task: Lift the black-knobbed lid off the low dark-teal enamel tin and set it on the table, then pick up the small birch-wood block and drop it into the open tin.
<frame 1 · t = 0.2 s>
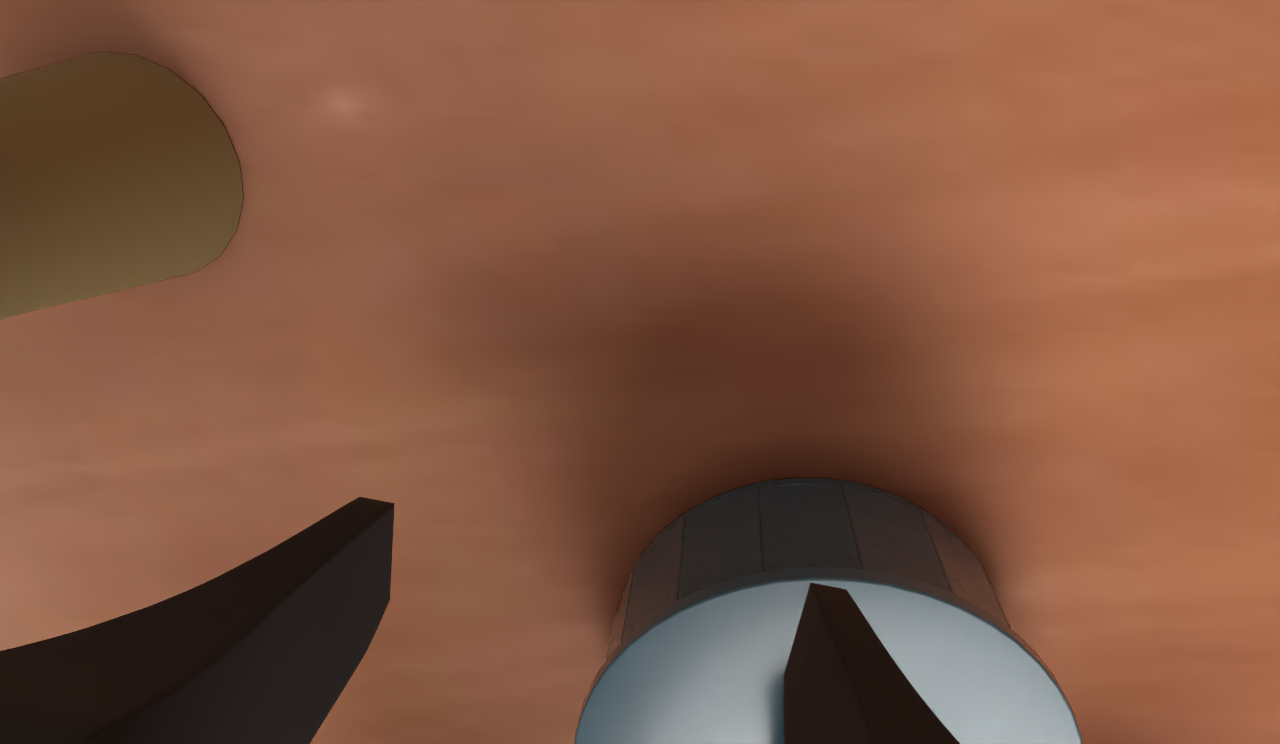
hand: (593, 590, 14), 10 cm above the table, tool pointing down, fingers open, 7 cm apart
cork: (139, 169, 23), on the table
tin: (803, 640, 27), on the table
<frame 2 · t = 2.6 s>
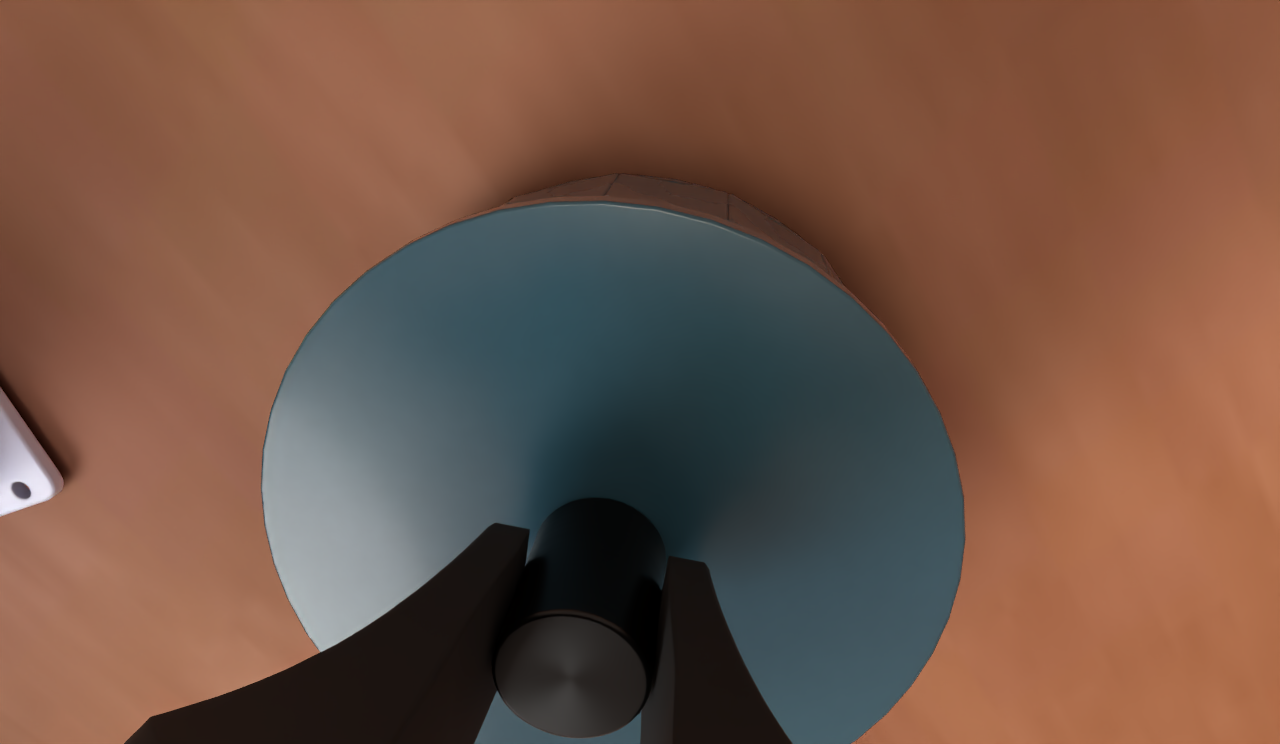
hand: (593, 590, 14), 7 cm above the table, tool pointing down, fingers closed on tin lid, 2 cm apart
tin lid: (604, 537, 16), point 5 cm above the table, touching gripper, tin
tin: (633, 421, 20), on the table
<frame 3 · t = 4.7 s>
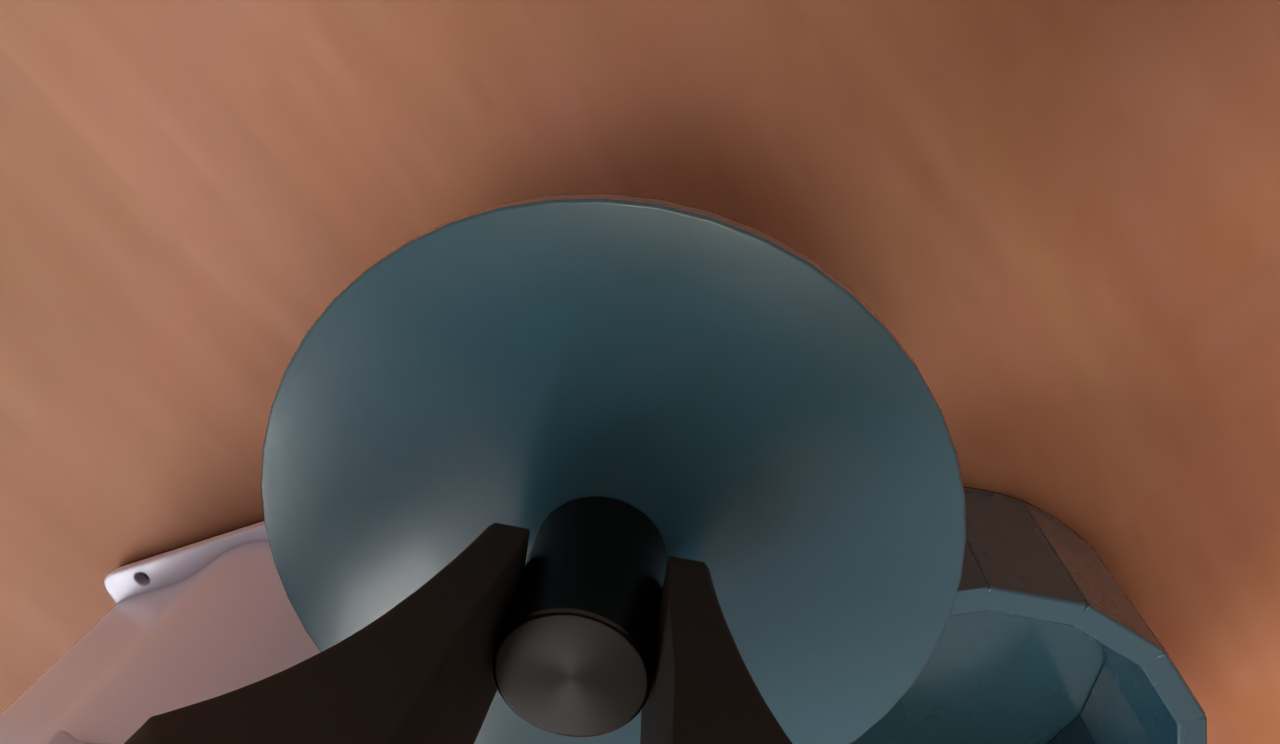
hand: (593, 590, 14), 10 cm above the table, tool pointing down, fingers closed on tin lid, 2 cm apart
tin lid: (604, 536, 16), point 9 cm above the table, touching gripper
tin: (921, 648, 27), on the table
when the fingers open (2 cm above the table, at t = 7.0 s): tin lid stays where it is, point 1 cm above the table.
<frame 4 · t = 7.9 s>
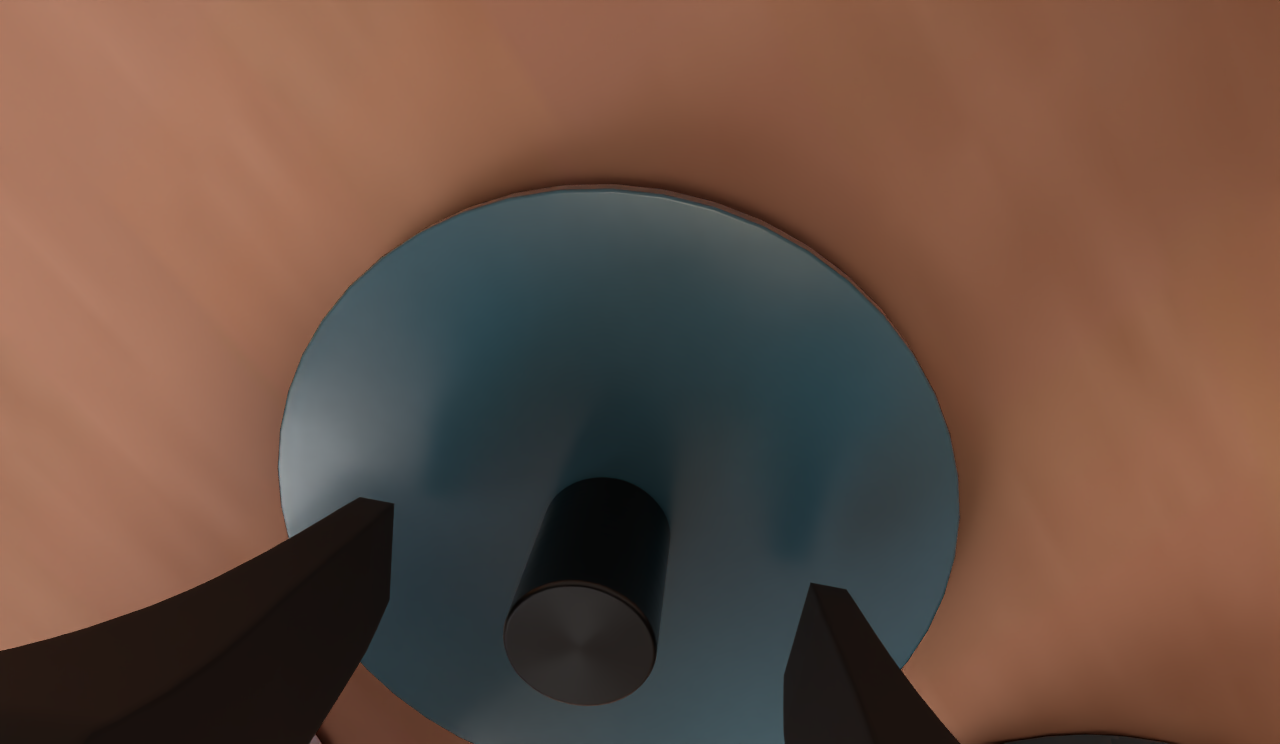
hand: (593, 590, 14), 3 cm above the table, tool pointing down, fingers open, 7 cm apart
tin lid: (610, 517, 16), point 1 cm above the table
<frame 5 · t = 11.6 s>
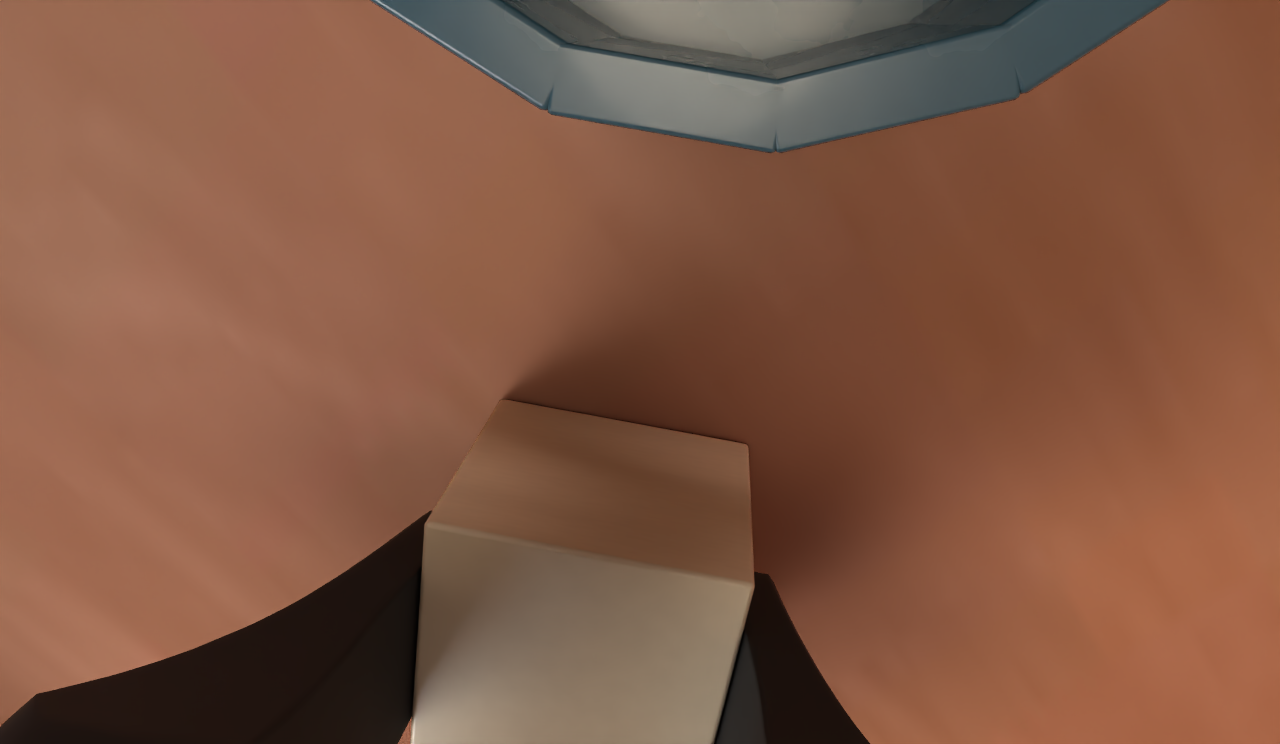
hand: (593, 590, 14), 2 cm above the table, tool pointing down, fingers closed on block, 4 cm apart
block: (606, 525, 16), on the table, touching gripper
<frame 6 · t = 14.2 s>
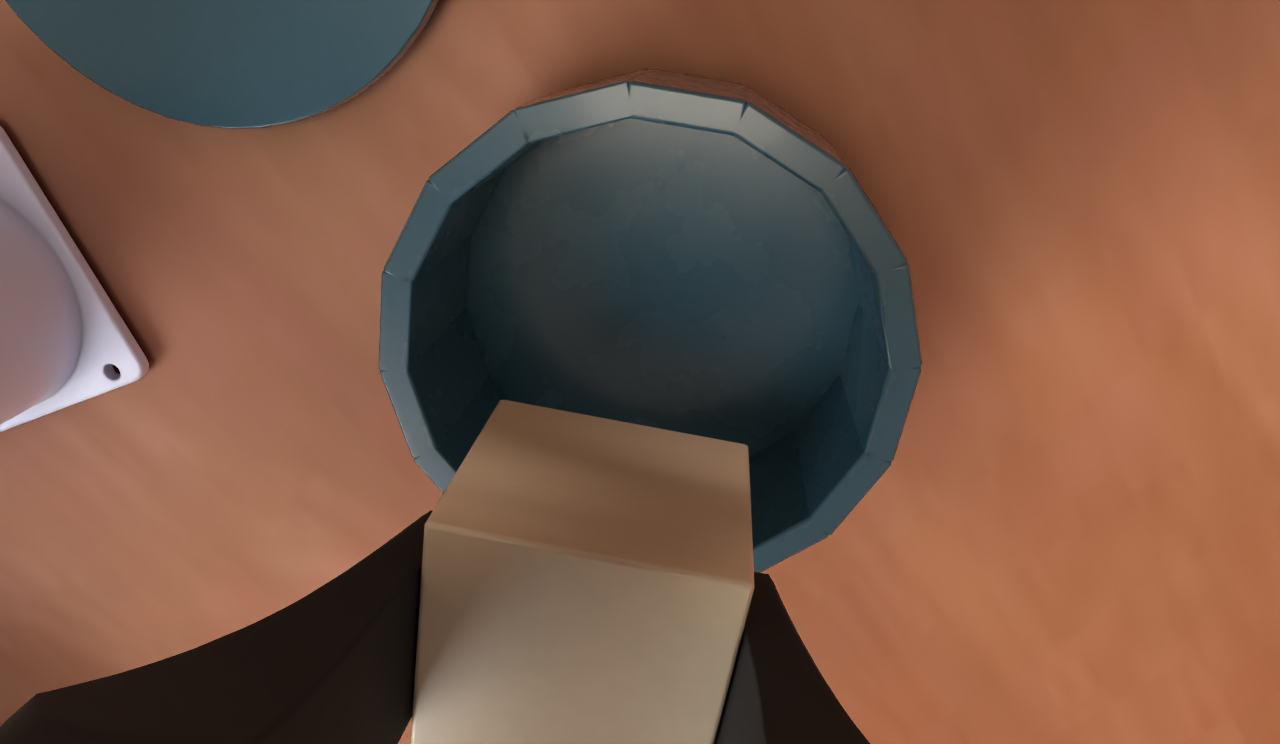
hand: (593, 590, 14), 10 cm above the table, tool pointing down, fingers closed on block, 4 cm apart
block: (606, 525, 16), point 8 cm above the table, touching gripper
tin: (658, 300, 23), on the table
when the fingers open (2 cm above the table, at t = 17.2 s): block stays where it is, resting on tin.
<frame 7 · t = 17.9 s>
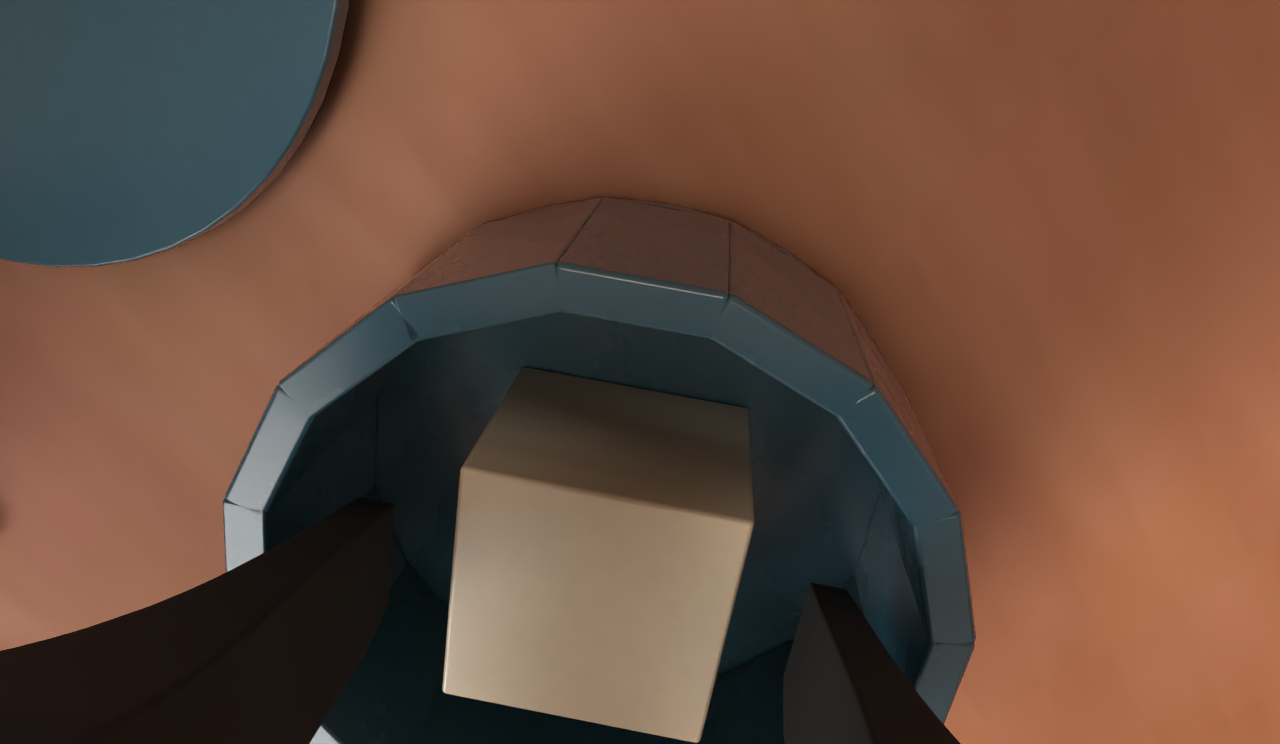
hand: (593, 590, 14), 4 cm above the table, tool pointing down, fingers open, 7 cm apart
block: (618, 485, 18), resting on tin
tin: (621, 475, 18), on the table
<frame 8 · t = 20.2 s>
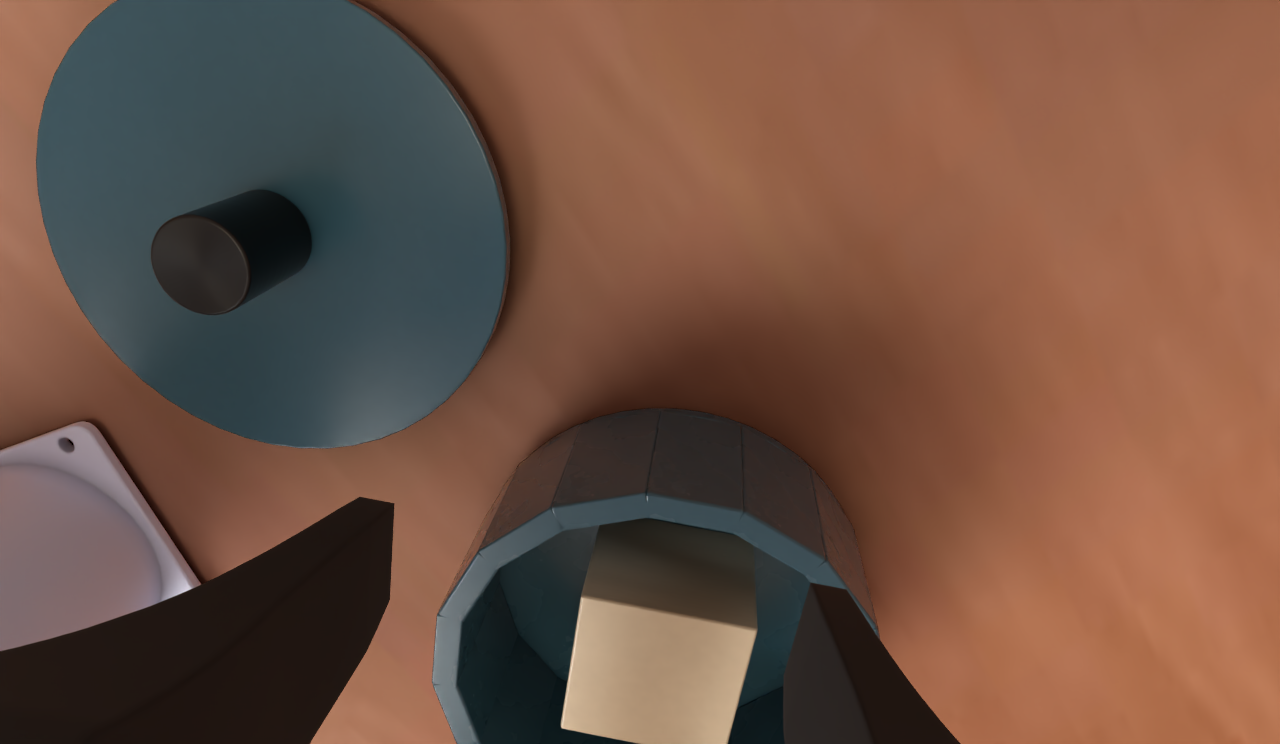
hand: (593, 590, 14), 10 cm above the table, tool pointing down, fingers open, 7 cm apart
tin lid: (278, 230, 23), point 1 cm above the table
block: (665, 585, 26), resting on tin
tin: (667, 577, 27), on the table
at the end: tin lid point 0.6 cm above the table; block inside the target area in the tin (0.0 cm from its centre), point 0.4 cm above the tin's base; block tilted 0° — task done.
